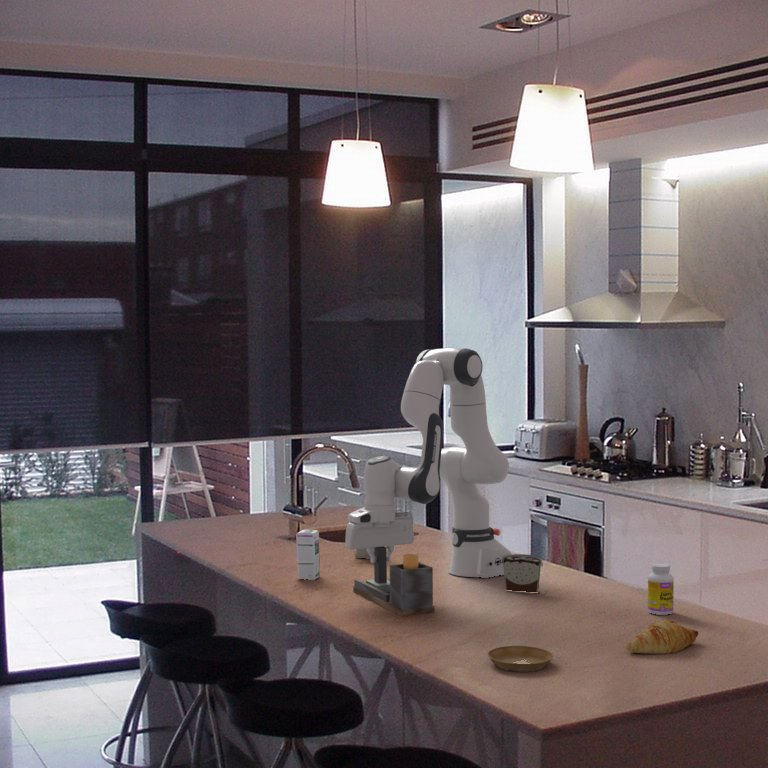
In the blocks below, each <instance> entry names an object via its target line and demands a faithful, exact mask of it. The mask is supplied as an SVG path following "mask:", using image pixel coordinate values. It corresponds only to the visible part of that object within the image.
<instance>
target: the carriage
mask: <svg viewBox="0 0 768 768" xmlns="http://www.w3.org/2000/svg"><path fill="white" fill-rule="evenodd" d="M387 550H388V549H387V548H386V546H385V547H374V556H376V557H378V559H377V561H378V562H377V563H373V564H374V567H373V569H374V573H373V574H374V575H373V576H374V577H373V578H374V579H366V580H365V583H367V584H369V585H372V586H374V587H376V588H378V589H380V590H382V591H384V592H386V593H387V592H390V581H388V580H387V578H388V570H387V569H388V562H387Z"/></svg>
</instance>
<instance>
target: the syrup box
mask: <svg viewBox="0 0 768 768" xmlns="http://www.w3.org/2000/svg"><path fill="white" fill-rule="evenodd" d="M295 537H296V538H295V539H296V564H297V565H296V570H297V571H296V572H297V573H296V574H297V580H299V579H304V580H303V581H316V580H317V579H318V578H319V577H320V576H321V565H320V563H321V562H320V561H321V560H320V559H321V557H320V532H319V530H318V529H301V530H300V531H299V532H297V533H296V534H295ZM306 579H308V580H306ZM315 579H316V580H315Z"/></svg>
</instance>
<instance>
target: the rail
mask: <svg viewBox="0 0 768 768" xmlns="http://www.w3.org/2000/svg"><path fill="white" fill-rule="evenodd" d="M433 575H434V573H433V567H432V566H429V565H427V564H425V563H422V562H419V561H418V568H417V569H407V570H404V565H403V563H402V564H401V563H400V564H399V563H398V564H391V565H389V578H388V577H387V580H388V581H390V592H387V593H386V592H384V591H382V590H380V589H378V588H376V587H374V586H372V585H369V584H367V583H366V581H363V580H361V579H359V578H358V579H357V578H354V585H353V587H352V588H353V589H352V591H354V592H353V593H355V592H356V593H355V594H357V593H358V594H357V595H359V594H360V595H359V596H361V595H362V597H363V596H364V597H363V598H365V597H366V598H365V599H367V598H368V599H367V600H369V599H370V600H369V601H371V602H373V603H375V604H377V605H378V604H379V606H380V605H381V606H380V607H382V606H383V608H385V609H387V610H388V611H390V612H392V613H394V614H396V615H398V616H400V617H405V616H411V615H412V614H413V615H418V613H421V614H427V613H426V612H429V613H433V612H432V611H435V605H434V597H433V595H434V587H433V585H434V583H433V582H434V580H433V578H434V576H433ZM404 615H405V616H404Z"/></svg>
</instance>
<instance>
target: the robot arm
mask: <svg viewBox="0 0 768 768" xmlns="http://www.w3.org/2000/svg"><path fill="white" fill-rule="evenodd" d="M482 372H483V361H482V357H481V356H480V354H479V353H478V351H476V350H473V349H470V348H464V347H463V348H458V347H445V348H444V347H443V348H429V349H425V350H423V351H421V352H420V353H419V354H418V356H417V358H416V359H415V363H414V365H413V367H412V368H411V370H410V372H409V376H408V378H407V379H406V383H405V387H404V390H403V394H402V397H401V402H400V412H401V414H402V417H403V418H404V420H405V421H406V423H408V424H409V425H411V426H412V427H414V428H416V429H417V430H418V431H419V432H420V434H421V435H422V436H421V437H422V445H421V455H420V464H419V465H418V466H417V467H414V466H407V465H402V464H400V463H397V461H394V460H393V458H392V456H388V455H379V456H374V457H371V458H370V459H368V460H367V461H366V463H365V466H364V474H363V475H364V477H363V489H364V493H365V498H364V501H363V504H364V506H363V507H361V508H359V509H356V510H354V511H352V512H350V513H348V515H347V518H348V521H349V522H348V523H347V525H346V527H345V528H346V529H345V536H344V537H345V544H344V545H345V546H346V548H348V549H350V550H354V551H355V550H356V549H364V548H367V552H368V554H369V555H370V559H369V560H370V563H371V564H374V563H377V562H378V561H377V559H378V557H376V556H374V554H373V552H372V551H374V547H386V549H387V563H388V562H391V555H392V554H393V552H394V550H395V547H396V546H405V545H406V546H407V545H412V544H413V543H414V541H415V531H414V527H413V524H414V516H413V515H412V513H410V512H409V511H403V512H402V511H400V512H398V511H397V512H396V500H397V499H398V500H402V501H410V502H411V501H412V502H414V503H418V504H422V505H428V504H429V503H431V502H432V501H433V500H435V499H436V497H437V496H438V495H439V493H440V490H441V480H442V481H443V482H444V484H445V486H446V488H447V490H448V492H449V495H450V498H451V502H452V513H453V526H452V528H451V537H452V538H451V539H452V540H451V541H452V553H451V561H450V566H449V569H448V573H449V574H451V575H453V576H458V577H465V578H467V577H469V578H479V577H481V578H482V579H488V578H489V577H490V578H494V576H495V577H500V576H499V575H501V576H504V567H503V563H502V564H501V561H502V558H503V556H506V555H513V554H512V552H511V550H510V549H508V548H507V547H506V546H505V545H503V544H502V543H501V542H499V541H498V540H497V539H496V538H495V536H496V537H497V536H500V534H501V533H502V531H501V530H500V529H499V528H493V527H491V526H490V504H489V501H488V499H486V497H485V496H483V495H482V494H481V493H480V491H479V489H478V487H477V484H478V485H479V484H480V485H494V484H500V483H502V482H503V481H504V480H505V479H506V478H507V476H508V475H509V472H510V471H509V470H510V462H509V459H508V457H507V456H506V454H505V453H504V452H502V450H501V449H499V447H498V446H497V445H496V443H495V442H494V440H493V438H492V435H491V433H490V430H489V429H490V428H489V424H488V417H487V416H488V415H487V414H488V413H487V399H486V390H485V385H484V381H483V377H482ZM444 385H447V386H449V387H450V388H449V407H450V408H449V410H450V411H449V412H450V414H449V415H450V427H451V429H452V431H453V432H454V434H455V435H457V436H458V437H459V438H460V439H461V440H462V442H463V445H464V446H456V445H455V446H449V447H443V440H444V438H443V437H444V421H443V419H442V417H441V416H440V403H441V398H442V393H443V388H444V387H443V386H444ZM481 578H480V579H481Z"/></svg>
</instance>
